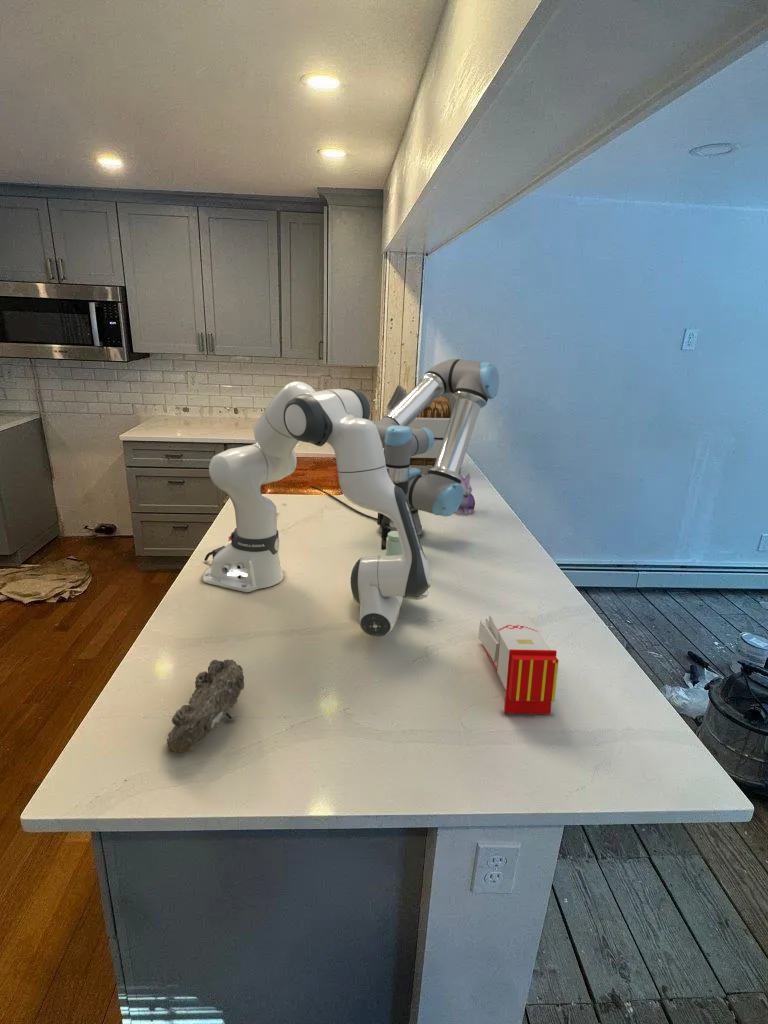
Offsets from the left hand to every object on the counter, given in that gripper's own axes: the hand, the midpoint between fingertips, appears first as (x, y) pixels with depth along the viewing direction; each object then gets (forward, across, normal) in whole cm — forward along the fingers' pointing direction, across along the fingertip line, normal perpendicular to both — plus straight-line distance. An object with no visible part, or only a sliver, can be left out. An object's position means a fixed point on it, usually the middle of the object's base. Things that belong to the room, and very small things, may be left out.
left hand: (394, 570), depth 157 cm
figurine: (+74, -17, +7) cm, 76 cm away
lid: (+17, +3, -2) cm, 17 cm away
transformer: (+124, +6, +7) cm, 124 cm away
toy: (-31, -31, +7) cm, 44 cm away
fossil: (-58, +26, +7) cm, 64 cm away
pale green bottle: (-1, 0, +7) cm, 7 cm away
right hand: (+17, +3, +2) cm, 17 cm away
